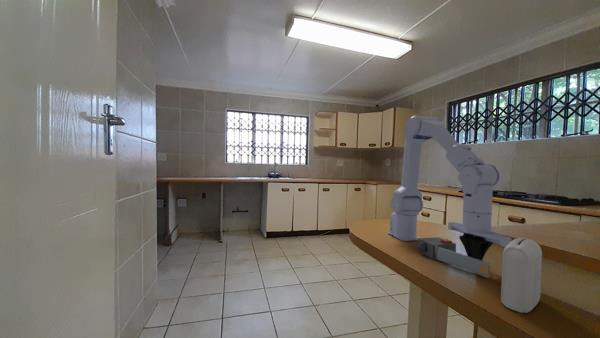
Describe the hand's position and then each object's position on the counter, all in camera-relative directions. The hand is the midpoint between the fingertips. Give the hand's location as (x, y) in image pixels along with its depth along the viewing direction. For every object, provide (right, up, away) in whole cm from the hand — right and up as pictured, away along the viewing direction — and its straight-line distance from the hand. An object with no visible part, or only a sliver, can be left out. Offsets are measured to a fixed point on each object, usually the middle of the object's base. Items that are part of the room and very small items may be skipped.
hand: (474, 265), depth 58 cm
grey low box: (-3, -1, +11) cm, 11 cm away
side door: (-3, -1, +1) cm, 3 cm away
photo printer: (-1, -2, -13) cm, 14 cm away
